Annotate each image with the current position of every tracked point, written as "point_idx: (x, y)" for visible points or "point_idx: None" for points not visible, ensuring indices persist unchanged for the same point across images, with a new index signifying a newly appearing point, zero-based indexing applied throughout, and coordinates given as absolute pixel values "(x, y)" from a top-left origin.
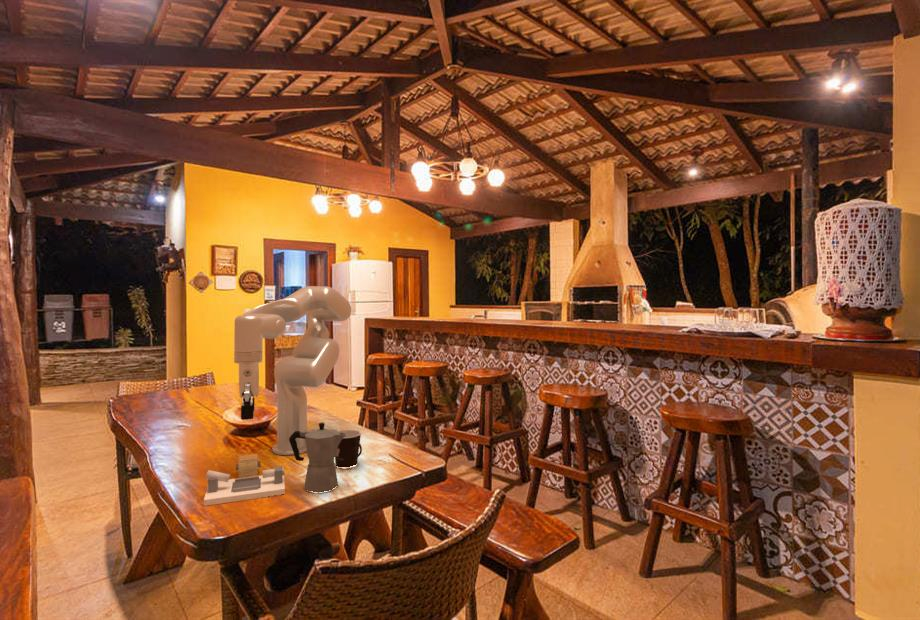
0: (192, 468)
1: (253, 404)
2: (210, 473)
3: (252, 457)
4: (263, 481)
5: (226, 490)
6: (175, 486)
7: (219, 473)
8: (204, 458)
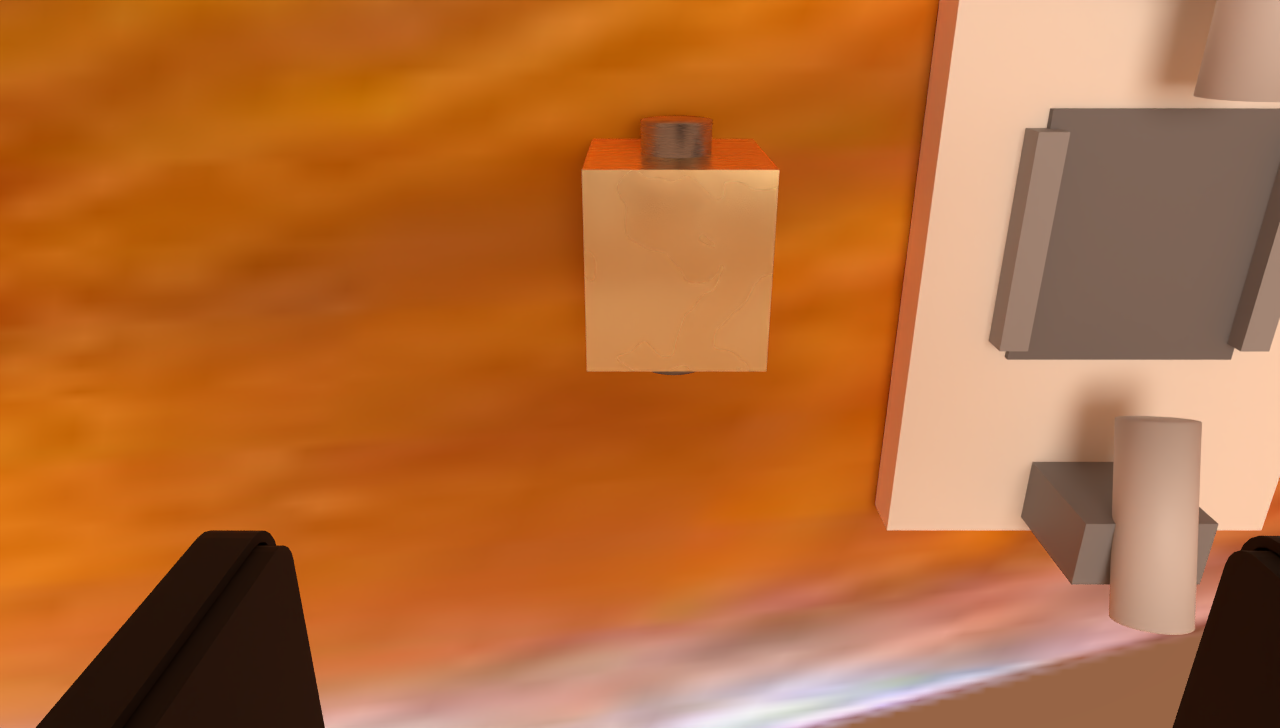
0: (385, 651)
1: (185, 700)
2: (1193, 600)
3: (709, 229)
4: (1137, 80)
5: (1164, 394)
6: (744, 700)
7: (1192, 525)
8: None
